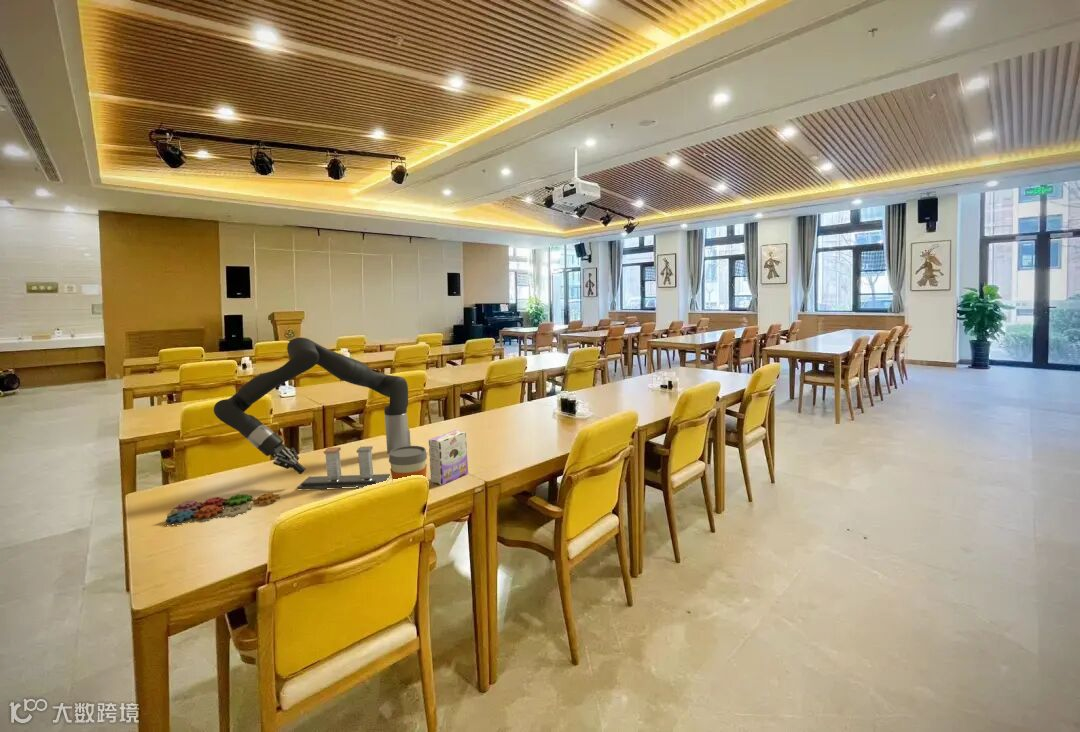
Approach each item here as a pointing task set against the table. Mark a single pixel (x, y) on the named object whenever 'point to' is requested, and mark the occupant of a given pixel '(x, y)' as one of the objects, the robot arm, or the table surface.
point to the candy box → (448, 457)
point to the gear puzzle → (216, 508)
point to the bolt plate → (349, 480)
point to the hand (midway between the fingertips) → (303, 471)
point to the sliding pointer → (333, 463)
